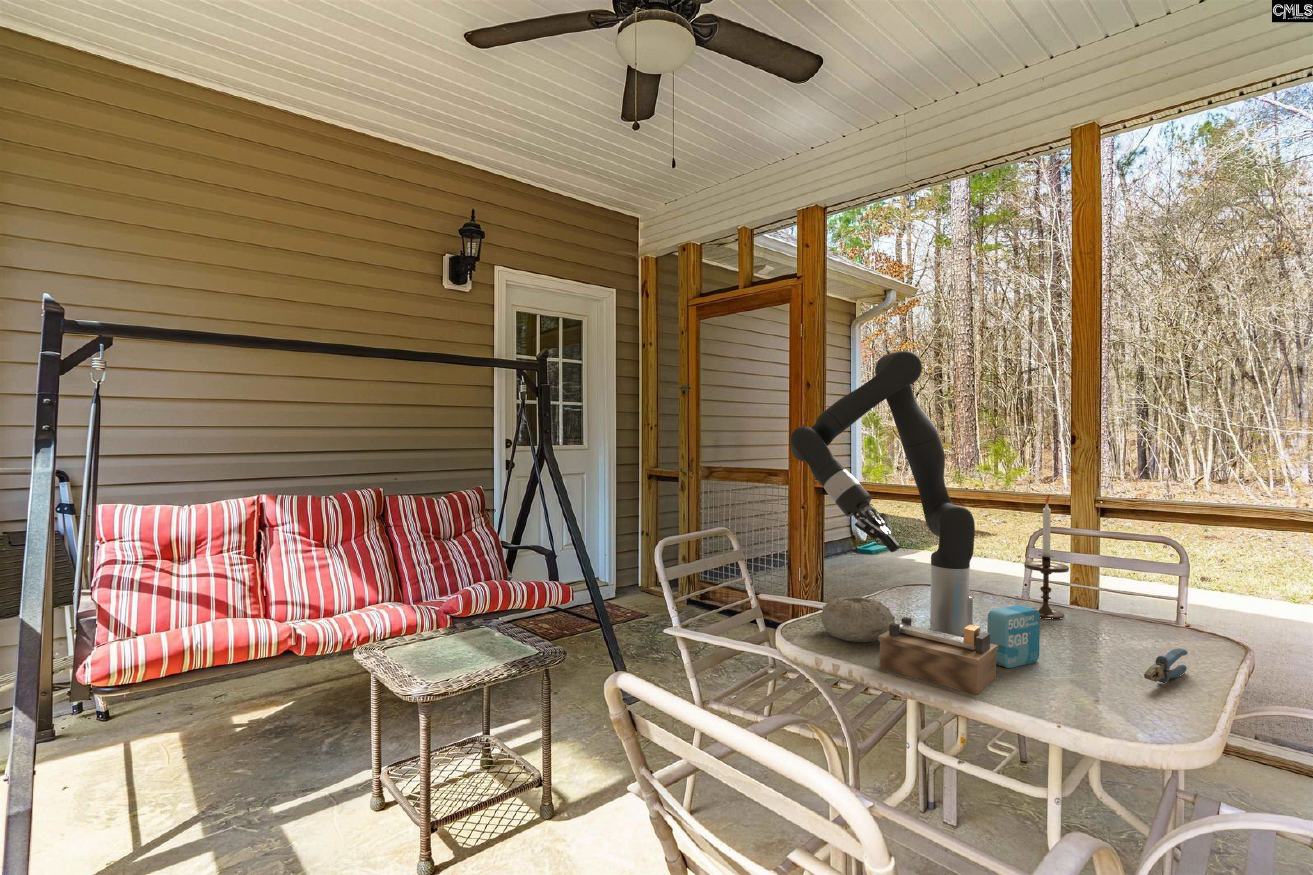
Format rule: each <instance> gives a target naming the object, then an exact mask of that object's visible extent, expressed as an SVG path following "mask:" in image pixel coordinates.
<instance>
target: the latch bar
mask: <svg viewBox="0 0 1313 875" xmlns="http://www.w3.org/2000/svg"><path fill="white" fill-rule="evenodd" d="M900 632H901V633H905V634H909V635H913V636H917V637H922V638H926V639H930V640H934V641H938V642H942V643H947V644H951V645H955V646H959V647H963V648H967V649H972V650H975V649H976V637H978V636H979V635H980V634H981V626H979V625H974V624H973V625H968V626H967V627H965V628H964V636H955V635H951V634H947V633H942V632H938V631H933V630H931V629H930V628H924V627H920V626H916V625H912V624H911V625H907V624H906V623H902V622H901V623H900Z"/></svg>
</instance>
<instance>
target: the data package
mask: <svg viewBox="0 0 1313 875" xmlns="http://www.w3.org/2000/svg"><path fill="white" fill-rule="evenodd" d="M1032 608H1033V607H1028V606H1023V605H1019V604H1015V605H1011V606H1005V607H999V608H993V609H991V610H990V611H989V612H988V613H987V627H986V628H987V632H986V633H990V643H991V644H996V645H998V650H997V651H996V666H997V665H998V666H1001V667H1003V668H1006V669H1013V668H1016V667H1017V668H1018V667H1021V666H1024V665H1029V664H1033V663H1036V662H1037V661H1038V660H1039V658H1040V644H1041V643H1040V642H1041V641H1040V637H1041V636H1040V632H1041V631H1040V628H1041V626H1040V625H1041V624H1040V623H1041V618H1040V614H1039V612H1038V610H1036V609H1032Z"/></svg>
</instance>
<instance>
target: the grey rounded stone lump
mask: <svg viewBox="0 0 1313 875" xmlns="http://www.w3.org/2000/svg"><path fill="white" fill-rule="evenodd" d="M820 620H821V623H822V625H823V628H824V629H825V631H826V632H828V634H829V635H831V637H833V638H836V639H839V640H844V641H848V642H851V643H871V642H873V641H878V636H879V635H881V634H883V633H885V632H887V631H889V625H890V624H891V623H895V624H896V616H894V615H893V613H892V612H891V610H890V608H889V607H887V606H886V605H885V604H883V603H882V602H880V601H879V600H876V599H874V598H873V599H870V598H868V597H864V596H857V595H856V596H849V597H845V596H844V597H839V596H838V597H835V598H832V599H831V600H829V601H828V602H827V603H826V604H825V605H823V606H822V611H821V614H820Z"/></svg>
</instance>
